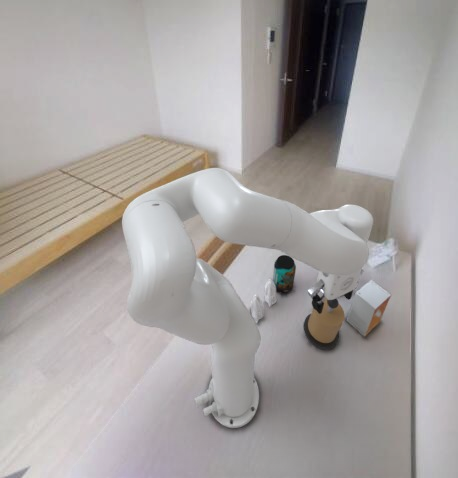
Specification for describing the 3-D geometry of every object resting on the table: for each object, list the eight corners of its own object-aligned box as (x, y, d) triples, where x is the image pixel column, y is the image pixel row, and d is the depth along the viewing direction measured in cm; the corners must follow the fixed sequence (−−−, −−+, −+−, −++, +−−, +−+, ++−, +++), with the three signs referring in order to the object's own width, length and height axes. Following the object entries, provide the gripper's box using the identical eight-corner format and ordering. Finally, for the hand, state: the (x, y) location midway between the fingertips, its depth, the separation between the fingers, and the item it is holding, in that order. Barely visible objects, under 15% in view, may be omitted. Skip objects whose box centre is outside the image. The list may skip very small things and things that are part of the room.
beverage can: (291, 297, 90) (295, 272, 84) (270, 291, 92) (273, 267, 87) (294, 280, 96) (297, 256, 90) (274, 275, 98) (276, 251, 92)
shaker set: (270, 291, 92) (272, 268, 87) (280, 299, 90) (283, 276, 84) (246, 315, 85) (247, 291, 80) (256, 324, 82) (258, 301, 77)
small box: (364, 338, 78) (375, 309, 72) (345, 320, 83) (354, 292, 77) (380, 322, 82) (391, 294, 76) (361, 306, 87) (370, 279, 81)
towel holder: (332, 325, 65) (306, 290, 73) (318, 356, 74) (296, 321, 82) (362, 309, 69) (335, 277, 76) (345, 340, 78) (322, 308, 85)
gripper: (326, 278, 57) (314, 328, 65) (383, 253, 63) (366, 301, 71) (304, 254, 63) (295, 302, 71) (358, 233, 69) (344, 279, 77)
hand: (330, 301), depth 71 cm, fingers open, 9 cm apart
